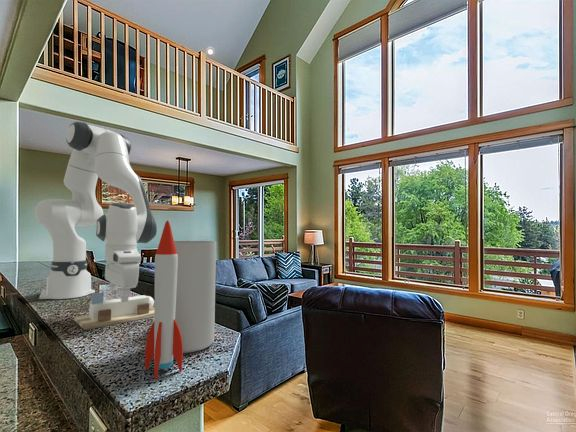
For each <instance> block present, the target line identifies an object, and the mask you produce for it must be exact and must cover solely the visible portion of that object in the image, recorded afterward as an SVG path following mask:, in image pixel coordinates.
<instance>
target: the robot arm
mask: <svg viewBox="0 0 576 432" xmlns="http://www.w3.org/2000/svg"><path fill="white" fill-rule="evenodd" d="M65 134H66V135H65V141H66V144H68V146H69V147H70V148H72V149H73V150H72V152H71V154H70V156H69V160H68V163H67V166H66V170H65V174H64V178H63V185H64V186H65V188H67V189H68V190H69V191H71V199H63V198H49V199H42V200H41V201H39V202H38V203H37V205H36V206H35V208H34V217H35V219H36V221H37V222H38V223H39V224H40V225H42V226H43V227H44V228H45V229H46V230H47V232H48V233H49V235H50V237H51V241H52V255H53V257H52V261H51V264H50V270H51V271H50V274H48V276H47V277H46V278H45V279H44V280H42V286H43V287H44V288H43V290H41V293H40V295H39V297H38V299H39V300H47V299H48V300H64V299H74V298H81V297H85V296H88V295H92V294H93V293H96V290H95V289H92V279H91V278H92V276H91V273H90V272H89V271H88V270H87V269H88V260H87V241H86V239H84V237H82V236H79V235H78V233H77V231H76V227H77V228H78V227H79V228H80V227H82V228H83V227H84V228H86V227H87V228H88V227H93V226H96V234H95V236H96V237H97V238H98V239H99V240H101V241H102V242H105V246H104V247H105V248H104V249H105V250H104V261H106V262H105V269H104V280H106V281H108V282H109V287H110V296H112V297H118V296H119V289H118V288H119V287H120V288H121V295H120V297H119V299H120V298H121V299H120V300H121V301H122V302H127V301H128V297H130V296H129V295H130V292H131V289H134V288H136V287H137V286H138V283H139V277H140V275H139V274H140V262H141V261H142V256H141V255H142V254H141V253H140V252H139V250H138V249H137V248H138V244H148V243H149V242H151V241H152V240H153V239H154V238H155V237H156V235H157V223H156V220H155V217H154V216H153V213H152V209H151V206H150V203H149V201H148V195H147V194H146V190H145V186H144V184H143V181H142V178H141V176H140V175H138V174H137V173H135V171H134V170H133V168H132V166H131V163H130V153H131V151H132V150H131V149H132V144H131V140H130V139H129V138H128V137H127V136H125V135H123V134H121V133H118V132H116V131H113V130H109V129H108V128H104V127H101V126H96V125H92V124H87V123H86V122H83V121H74V122H72V123H71V124H70V125H69V127H67V130H66V133H65ZM98 179H100V180H101V181H103V183H105V184H107V185H109V186H112V187H114V188H117V189H118V190H122V191H124V192H125V193H127V194H128V195H130V197H131V199H132V201H133V204H132V203H126V202H125V203H124V202H114V203H111V204H109V206H108V210H107V213H104V210H103V207H102V206H101V205H100V204H99V203H98V200H97V197H96V188H97V187H96V186H97V185H98ZM137 243H138V244H137Z"/></svg>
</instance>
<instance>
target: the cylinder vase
mask: <svg viewBox="0 0 576 432" xmlns="http://www.w3.org/2000/svg"><path fill="white" fill-rule="evenodd" d="M174 243H175V247H176V251H177V255H178V268H177V289H176V310H175V320H176V322H177V324H178V327H179V329H180V333H181V336H182V343H183V354H188V353H195V352H200V351H203V350H205V349H207V348H208V347H210V346H212V344H213V343H214V342H215V341H214V340H215V325H216V324H215V323H216V322H215V320H216V318H215V317H216V316H215V315H216V314H215V313H216V272H217V271H216V270H217V269H216V268H217V265H216V264H217V263H216V262H217V241H214V240H213V241H212V240H174Z"/></svg>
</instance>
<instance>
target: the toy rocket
mask: <svg viewBox="0 0 576 432" xmlns="http://www.w3.org/2000/svg"><path fill="white" fill-rule="evenodd" d="M174 241H175V240H174V235H173V231H172V227H171V224H170V221H169V220H166V221H165V222H164V226H163V229H162V233H161V236H160V240H159V243H158V246H157V249H156V253H155V255H154V308H155V311H154V317H153V318H154V322H153V321H152V324H151V325H150V329H149V330H148V334H147V336H146V342H145V351H144V352H145V353H144V362H145V363H144V370H145V371H146V370H148V369H149V367H150V365H151V362H152V360H154V361H153V366H154V369H153V372H154V373H153V376H154V377H153V379H154V380H157V379H158V376H159V369H160V370H162V369H168V368H170V367H171V366H173V365H174V359H175V362H176V364H177V367H178V370H179V371H180V372H183V359H184V357H183V355H184V353H183V343H182V336H181V333H180V329H179V327H178V324H177V322H176V320H175V310H176V289H177V268H178V255H177V251H176V247H175V243H174Z"/></svg>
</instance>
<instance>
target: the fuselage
mask: <svg viewBox="0 0 576 432" xmlns="http://www.w3.org/2000/svg"><path fill="white" fill-rule="evenodd" d="M104 296H105V295H104V291H103V292H95V293H91V302H89V305H88V306H89V308H88V311H89V312H88V315H89V318H90V319H91V320H92V321H96V320H98V311H99V310H105V309H111V318H114V317H119V316H125V315H131V314H136V313H137V310H138V304H144V303H149V309H151V308H152V307H154V306H155V299H154V298H153V297H152V296H150V295H146V294H143V295H136V296H128V301H127V302H122V301H121V300H120V299H121V298H120V297H119V298H114V299H108V300H107V299H106V300H104Z"/></svg>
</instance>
